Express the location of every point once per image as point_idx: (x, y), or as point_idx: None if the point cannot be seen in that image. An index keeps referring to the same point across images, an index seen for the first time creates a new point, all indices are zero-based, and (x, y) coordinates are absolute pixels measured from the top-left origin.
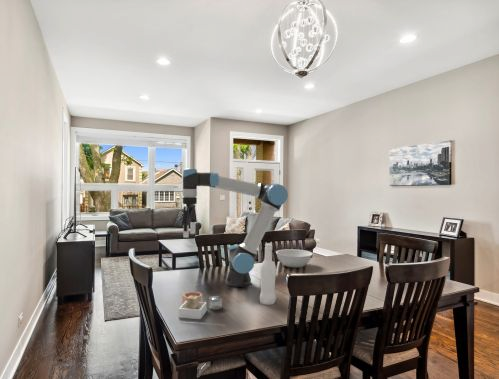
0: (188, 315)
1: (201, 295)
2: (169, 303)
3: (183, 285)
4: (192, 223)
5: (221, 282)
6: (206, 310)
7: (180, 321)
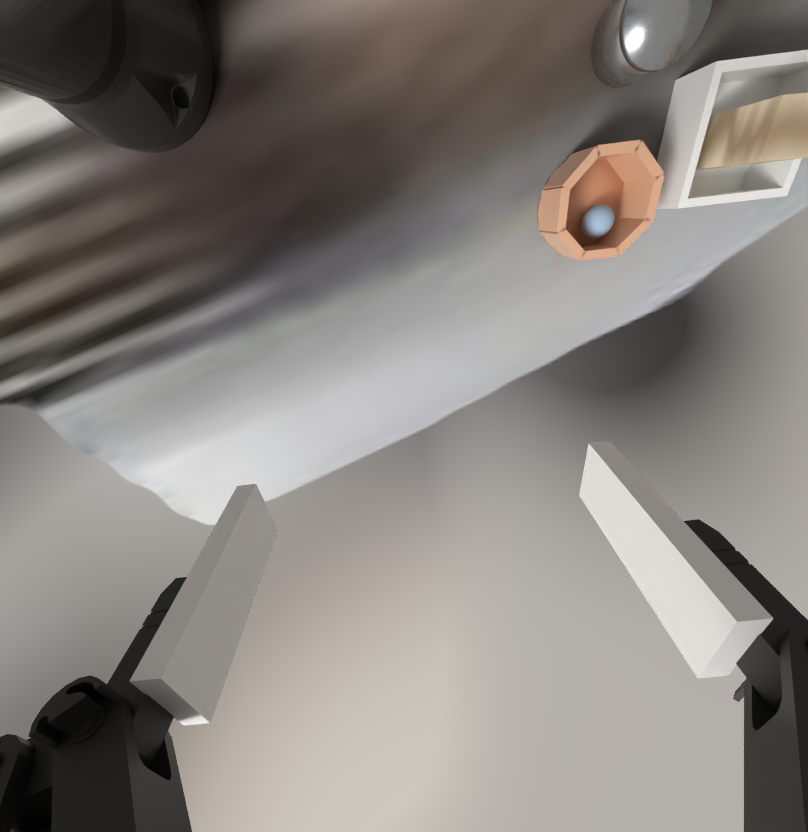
0: None
1: (618, 142)
2: (558, 320)
3: (322, 368)
4: (201, 674)
5: (175, 188)
6: (682, 77)
7: None
